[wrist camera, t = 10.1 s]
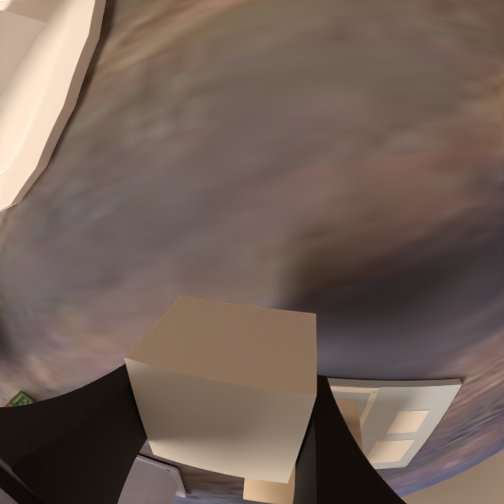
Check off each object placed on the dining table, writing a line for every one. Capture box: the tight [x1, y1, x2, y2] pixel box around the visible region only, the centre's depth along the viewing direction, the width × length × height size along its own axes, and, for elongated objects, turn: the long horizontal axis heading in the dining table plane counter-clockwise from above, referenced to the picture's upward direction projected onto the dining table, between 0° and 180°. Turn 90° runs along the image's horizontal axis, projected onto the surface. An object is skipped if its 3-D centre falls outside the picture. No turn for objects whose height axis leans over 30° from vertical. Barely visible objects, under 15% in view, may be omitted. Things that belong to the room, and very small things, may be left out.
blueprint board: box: [327, 378, 462, 469], centre depth 17 cm, size 20×10×1 cm, turn 87°
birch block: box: [243, 399, 363, 504], centre depth 15 cm, size 6×8×4 cm
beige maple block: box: [124, 295, 317, 483], centre depth 9 cm, size 5×5×4 cm
